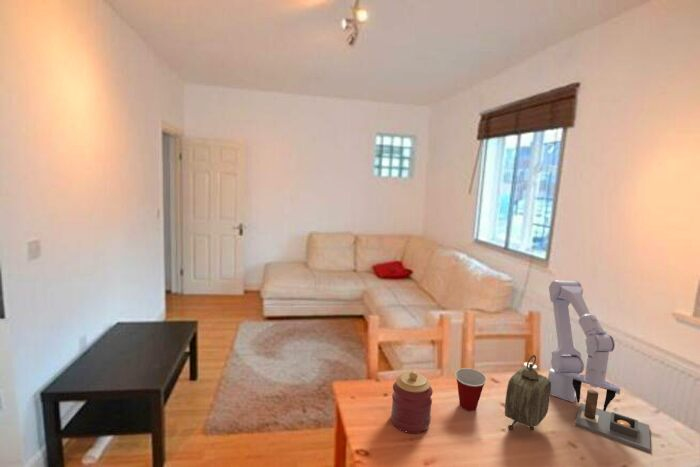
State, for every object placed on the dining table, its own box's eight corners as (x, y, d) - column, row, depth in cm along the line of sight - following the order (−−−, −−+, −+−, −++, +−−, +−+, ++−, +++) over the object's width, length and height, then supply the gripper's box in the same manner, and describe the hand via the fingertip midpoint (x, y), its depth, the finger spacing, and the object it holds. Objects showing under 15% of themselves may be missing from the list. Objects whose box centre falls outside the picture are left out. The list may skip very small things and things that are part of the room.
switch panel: (574, 425, 129) (576, 415, 128) (580, 405, 141) (581, 396, 140) (649, 452, 117) (651, 441, 116) (648, 427, 129) (650, 418, 128)
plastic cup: (450, 411, 134) (453, 379, 132) (454, 395, 144) (456, 365, 142) (483, 419, 130) (486, 386, 128) (484, 402, 140) (487, 371, 138)
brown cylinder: (583, 416, 132) (587, 392, 130) (584, 412, 134) (587, 388, 133) (594, 420, 130) (598, 395, 128) (595, 415, 132) (598, 391, 131)
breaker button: (616, 426, 126) (617, 423, 126) (617, 421, 129) (617, 418, 129) (630, 431, 124) (630, 428, 124) (630, 425, 127) (630, 423, 127)
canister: (434, 416, 131) (437, 368, 128) (424, 439, 119) (428, 386, 116) (397, 406, 136) (400, 359, 133) (385, 426, 124) (388, 376, 122)
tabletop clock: (520, 412, 135) (527, 345, 131) (547, 424, 129) (556, 354, 125) (502, 430, 125) (509, 358, 121) (530, 444, 119) (539, 368, 115)
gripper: (570, 365, 131) (565, 402, 133) (622, 380, 122) (616, 419, 124) (573, 358, 136) (568, 393, 138) (622, 371, 128) (617, 409, 130)
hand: (591, 405), depth 131 cm, fingers open, 7 cm apart
